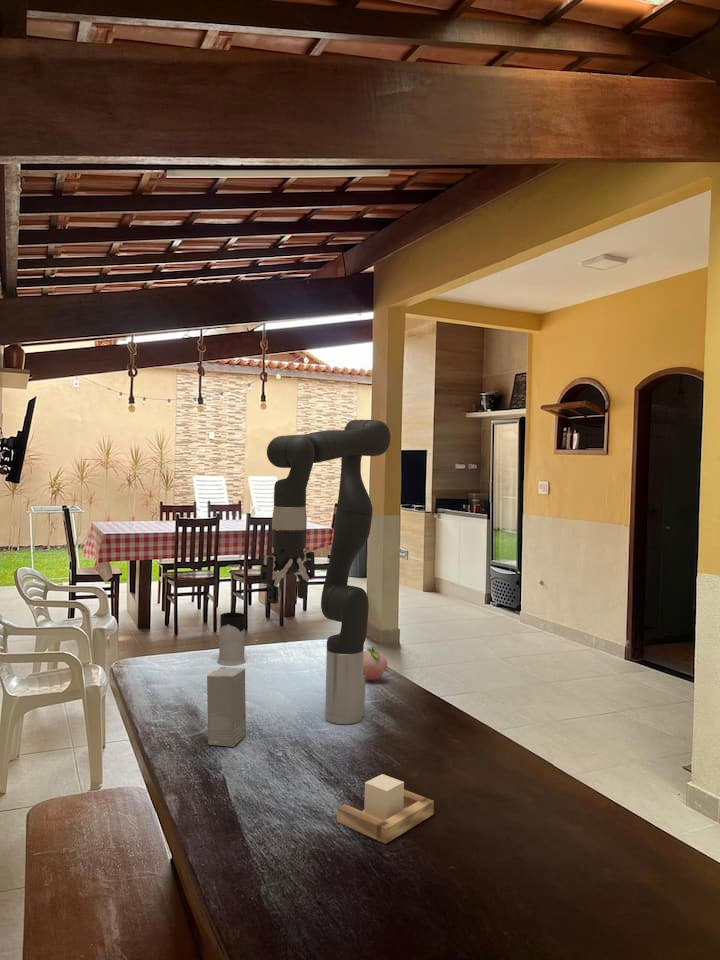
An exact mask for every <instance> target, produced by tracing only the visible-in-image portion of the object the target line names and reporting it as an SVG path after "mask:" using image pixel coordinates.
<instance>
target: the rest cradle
mask: <svg viewBox="0 0 720 960" xmlns="http://www.w3.org/2000/svg"><path fill="white" fill-rule="evenodd" d="M434 803H435V800H433V799H430V798H427V797H425V796H423V795H419V794H417V793H414V792H412V791H410V790H409V791H408V790H407V789H404V804H403V810H402V811H400V812H399V813H397V814H395V815H393V816H392V817H390V818H388V819H386V820H385V821H383V820H381V819H379V818H376V817H374V816H372V815H369V814H367V813H365V812H364V809H363V810H360V809H357V808H355V807H352V806H350V805H348V804H345V803H344V804H342V805H340V806H339V807H337V808H336V810H337V811H336V822H337V823H338V824H340V825H343V826H346V827H347V828H350V829H352V830H353V831H356V832H358V833H361V834H363V835H365V836H367V837H369V838H371V839H373V840H376V841H378V842H380V843H382V844H385V845H386V844H388V843H389V842H391V841H393V840H394V839H396V838H398V837H400V836H401V835H403V834H405V833H406V832H408V831H409V830H411V829H413V828H414V827H415V826H417V825H418V824H421V823H422V822H423V821H425V820H426V819H428V818H430V817H431V816H433V815H434V812H435V811H434V806H435V804H434Z"/></svg>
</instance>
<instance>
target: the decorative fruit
mask: <svg viewBox="0 0 720 960" xmlns="http://www.w3.org/2000/svg"><path fill="white" fill-rule="evenodd" d="M387 668H388V661H387V659H386V657H385V655H384V654H383V653H381V652H379V651H377V650H376V649H375V648H374V646H372V647H371V648H366V650H365V651H363V677H365V678H367V679H368V680H370V681H371V682H374V681H376V680H378V679H379V678H381V677H382V676H383V675H384V673H386V670H387Z"/></svg>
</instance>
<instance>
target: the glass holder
mask: <svg viewBox="0 0 720 960" xmlns="http://www.w3.org/2000/svg"><path fill="white" fill-rule="evenodd" d="M219 619H220V622H219V624H220V625H219V644H218V645H219V646H218V647H219V650H218V652H219V653H218V654H219V655H218V660H217V664H218V665H220V666H224V667H225V666H227V667H230V666H231V667H232V666H234V667H235V666H240V665H244V664H246V659H245V645H246V644H245V642H246V641H245V640H246V639H245V638H246V637H245V635H246V629H245V614H244V613H241V612H224V613H221V614H220V618H219Z"/></svg>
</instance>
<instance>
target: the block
mask: <svg viewBox="0 0 720 960" xmlns="http://www.w3.org/2000/svg"><path fill="white" fill-rule="evenodd" d="M404 790H405V781H402V780H399V779H397V778H394V777H391V776H388V775H386V774H383V773H381V774H380V775H377V776H375V777H373V778H371V779H369V780H367V781H365V782H364V802H363V803H364V809H363V810H364V812H365V813H367V814H369V815H372V816H374V817H376V818H379V819H381V820H383V821H385V820H386V819H388V818H390V817H392V816H393V815H395V814H397V813H399V812H400V811H402V810H403V804H404Z"/></svg>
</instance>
